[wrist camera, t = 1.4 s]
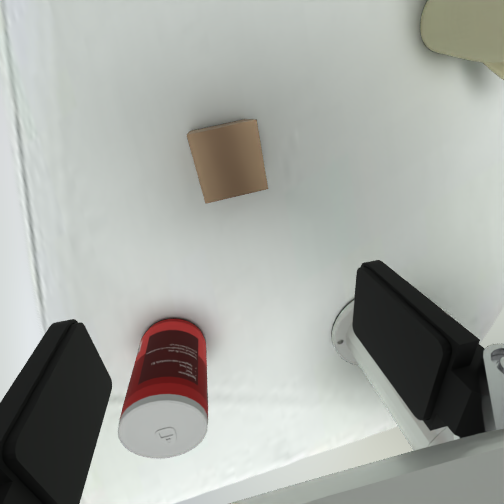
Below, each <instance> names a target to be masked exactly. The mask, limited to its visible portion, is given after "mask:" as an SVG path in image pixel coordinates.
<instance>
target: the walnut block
mask: <svg viewBox="0 0 504 504" xmlns="http://www.w3.org/2000/svg"><path fill="white" fill-rule="evenodd" d="M187 138H188V142H189V145H190V149H191V153H192V156H193V160H194V164H195V167H196V171H197V174H198V178H199V182H200V185H201V189H202V192H203V196H204V200H205V203H210V202H215V201H219V200H223V199H227V198H232V197H236V196H240V195H244V194H249V193H253V192H257V191H261V190H266V189H268V185H267V179H266V173H265V167H264V161H263V155H262V149H261V143H260V137H259V132H258V126H257V120H253V119H244V120H239V121H234V122H230V123H225V124H221V125H216V126H212V127H207V128H202V129H198V130H193V131H189V133H188V134H187Z"/></svg>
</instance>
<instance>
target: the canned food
mask: <svg viewBox="0 0 504 504" xmlns="http://www.w3.org/2000/svg"><path fill="white" fill-rule="evenodd" d="M207 425H208V393H207V360H206V342H205V339H204V337H203V335H202V332H201V331H200V330H199V328H198V327H196V326H195V325H194V324H192V323H191V322H189V321H186V320H182V319H165V320H162V321H159V322H157V323H155V324H154V325H153V326H151V327H150V328H149V329H148V331H147V332H146V333H145V334H144V336H143V337H142V340H141V342H140V346H139V350H138V353H137V357H136V361H135V364H134V368H133V372H132V375H131V379H130V382H129V386H128V390H127V393H126V397H125V401H124V404H123V408H122V413H121V417H120V421H119V428H118V437H119V439H120V442H121V443H122V444H123V446H124V447H125V448H126V449H128V450H129V451H130V452H133V453H135V454H137V455H140V456H143V457H148V458H170V457H174V456H178V455H181V454H184V453H186V452H188V451H190V450H192V449H193V448H195V447H196V446H197V445H198V444H199V443H200V442H202V440H203V439H204V437H205V435H206V432H207Z"/></svg>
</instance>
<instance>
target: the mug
mask: <svg viewBox="0 0 504 504" xmlns="http://www.w3.org/2000/svg"><path fill="white" fill-rule="evenodd" d="M420 31H421V37H422V40H423V42H424V44H425V45H426V46H427V48H429V49H430V50H431V51H434V52H437V53H441V54H445V55H449V56H453V57H457V58H461V59H466V60H470V61H477V62H483V63H484V64H485V65H486V66H487V67H488V68H489V69H490V70H491V71H493V72H494V73H495V74H496V75H497V76H499V77H500V78H501V79H503V80H504V0H428V1H427V3H426V5H425V7H424V9H423V12H422V16H421V22H420Z"/></svg>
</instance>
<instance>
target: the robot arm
mask: <svg viewBox="0 0 504 504" xmlns="http://www.w3.org/2000/svg"><path fill="white" fill-rule="evenodd" d="M479 341H480V340H479V339H478V338H477V337H476V336H474V335H473V334H472V333H471V332H469V331H468V330H467V329H466V328H464V327H463V326H462V325H461V324H459V323H458V322H457V321H456V320H454V319H453V318H452V317H451V316H450V315H449V314H448V313H447V312H445V311H443V310H442V309H441V308H439V307H438V306H437V305H436V304H434V303H433V302H432V301H431V300H429V299H428V298H427V297H426V296H424V295H423V294H422V293H421V292H419V291H418V290H417V289H416V288H414V287H413V286H412V285H411V284H409V283H408V282H407V281H406V280H404V279H403V278H402V277H401V276H399V275H398V274H397V273H396V272H394V271H393V270H392V269H391V268H389V267H388V266H387V265H386V264H384V263H383V262H382V261H380V260H376V261H371V262H366V263H363V264H362V265H361V268H358V270H357V277H356V288H355V299H354V300H353V301H352V302H351V303H350V304H348V305H347V306H346V307H345V309H344V310H343V311H342V312H341V313H340V315H339V316H338V318H337V319H336V322H335V324H334V326H333V331H332V342H333V345H334V347H335V349H336V351H337V353H338V354H339V355H340V357H341V358H342V359H344V360H345V361H347V362H349V363H351V364H355V365H359V366H360V367H361V369H362V371H363V372H364V374H365V375H366V377H367V378H368V380H369V381H370V383H371V385H372V386H373V388H374V389H375V391H376V392H377V394H378V396H379V397H380V399H381V400H382V402H383V403H384V405H385V406H386V408H387V410H388V411H389V413H390V414H391V416H392V417H393V419H394V421H395V422H396V424H397V425H398V427H399V428H400V430H401V431H402V433H403V435H404V436H405V438H406V439H407V441H408V442H409V444H410V446H411V447H412V449H413V450H414V451H411V452H408V453H404V454H401V455H397V456H394V457H390V458H387V459H383V460H379V461H376V462H373V463H369V464H366V465H362V466H358V467H355V468H351V469H348V470H344V471H341V472H337V473H334V474H330V475H326V476H323V477H319V478H316V479H312V480H309V481H305V482H302V483H299V484H295V485H292V486H288V487H285V488H281V489H278V490H274V491H271V492H267V493H264V494H260V495H257V496H254V497H250V498H246V499H243V500H240V501H236V502H233V503H230V504H504V344H493V345H490V346H487V347H486V349H484V348H483V347H482V346H481V345H479ZM111 390H112V381H111V378H110V376H109V374H108V372H107V370H106V368H105V366H104V364H103V362H102V360H101V358H100V356H99V354H98V352H97V350H96V348H95V346H94V344H93V342H92V340H91V338H90V336H89V334H88V332H87V330H86V328H85V326H84V324H83V323H78V322H77V321H76V320H74V319H72V320H67V321H62V322H56V323H53V324H52V325H51V326H50V327H49V329H48V330H47V332H46V333H45V335H44V336H43V338H42V340H41V341H40V343H39V344H38V346H37V347H36V349H35V350H34V352H33V354H32V355H31V357H30V358H29V360H28V361H27V363H26V364H25V366H24V367H23V369H22V370H21V372H20V373H19V375H18V376H17V378H16V380H15V381H14V383H13V384H12V386H11V387H10V389H9V391H8V392H7V393H6V395H5V396H4V398H3V400H2V401H1V403H0V504H79V503H80V499H81V496H82V492H83V489H84V485H85V482H86V478H87V475H88V471H89V468H90V464H91V461H92V457H93V453H94V450H95V446H96V443H97V439H98V436H99V432H100V429H101V425H102V422H103V418H104V415H105V411H106V408H107V404H108V401H109V397H110V394H111Z"/></svg>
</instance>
